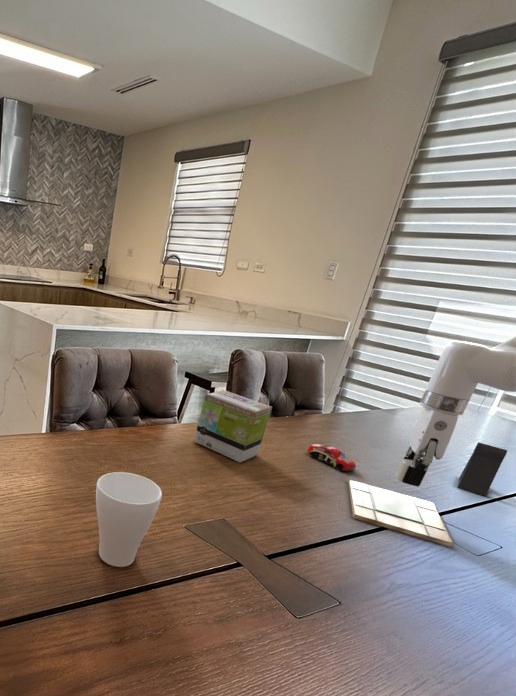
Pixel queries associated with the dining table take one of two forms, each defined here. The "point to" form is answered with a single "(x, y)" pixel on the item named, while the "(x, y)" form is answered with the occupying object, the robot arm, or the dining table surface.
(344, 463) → the race car
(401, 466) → the white cylinder puck
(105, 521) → the cup
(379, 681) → the dining table surface
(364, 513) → the board
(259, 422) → the tea box
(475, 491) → the phone stand
